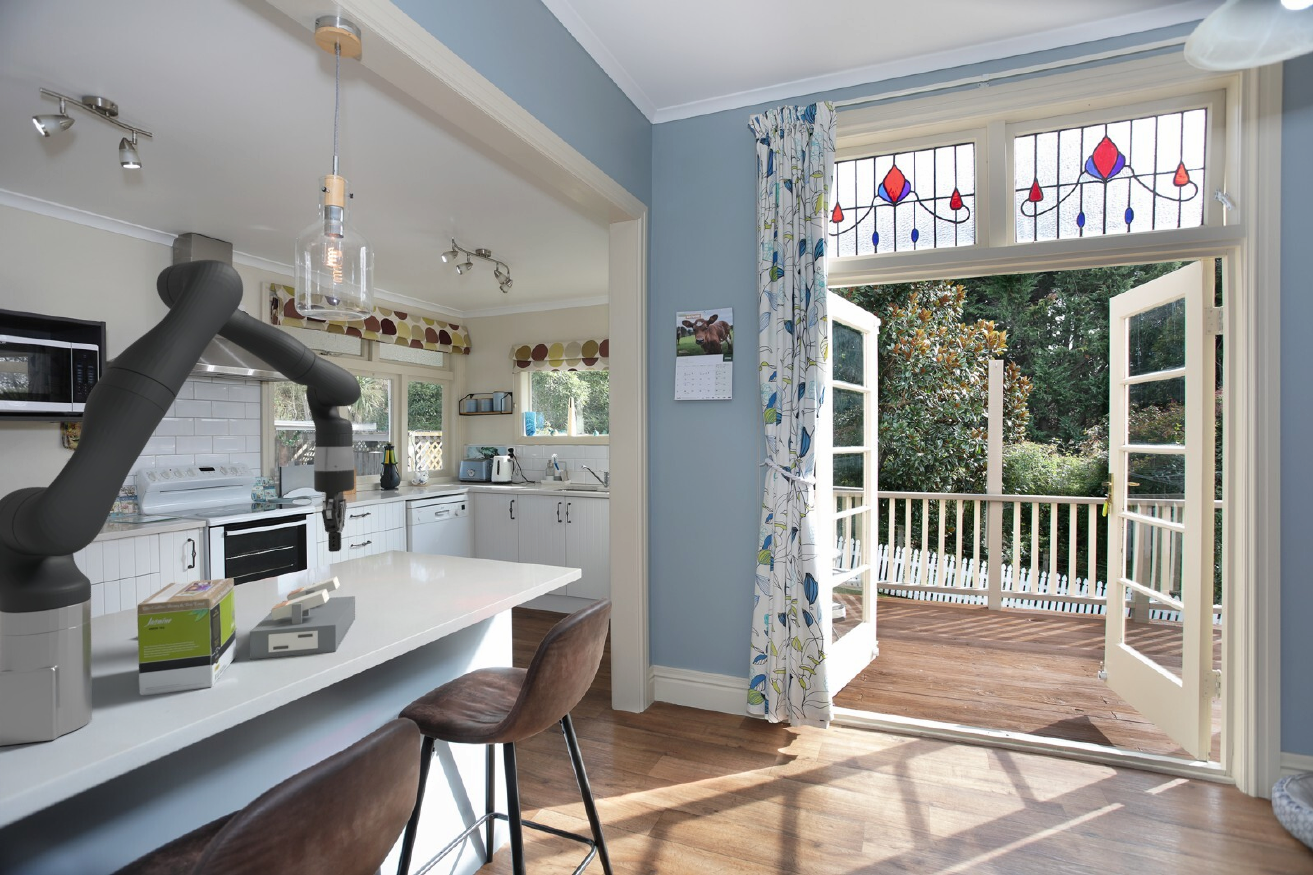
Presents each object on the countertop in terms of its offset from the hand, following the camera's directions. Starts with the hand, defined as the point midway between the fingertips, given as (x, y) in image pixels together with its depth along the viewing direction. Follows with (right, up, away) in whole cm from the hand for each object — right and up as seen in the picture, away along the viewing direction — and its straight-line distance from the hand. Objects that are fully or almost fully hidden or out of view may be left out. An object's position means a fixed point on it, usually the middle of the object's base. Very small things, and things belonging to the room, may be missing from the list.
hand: (335, 550), depth 134 cm
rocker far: (-4, -8, -1) cm, 9 cm away
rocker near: (-1, -8, -12) cm, 14 cm away
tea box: (-11, -17, -27) cm, 33 cm away
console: (-2, -16, -6) cm, 18 cm away
